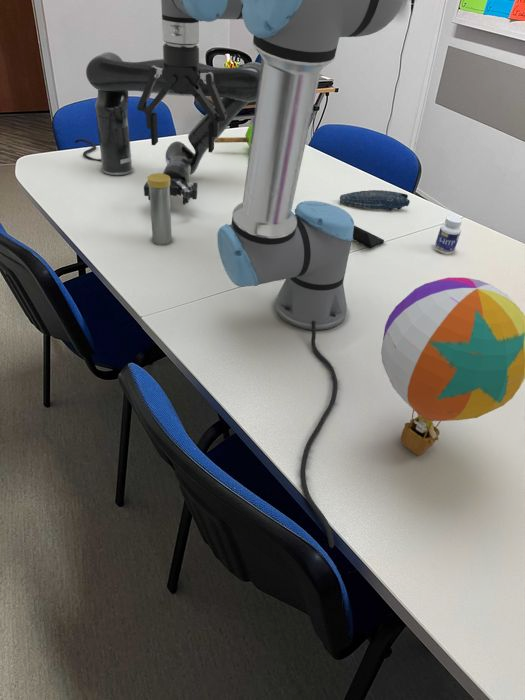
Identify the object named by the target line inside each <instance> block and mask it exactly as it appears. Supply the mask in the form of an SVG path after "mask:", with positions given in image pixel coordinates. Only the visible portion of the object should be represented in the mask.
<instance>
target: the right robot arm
mask: <svg viewBox="0 0 525 700" xmlns="http://www.w3.org/2000/svg"><path fill="white" fill-rule="evenodd" d="M404 1H405V0H160V2H161V3H160V5H161V27H162V28H161V29H162V41H163V42H165V43H164V44H163V45H162V54H163V55H162V56H163V57H162V59H164V67H163V69H162V68H158V67H157V66H156V65H154V66H152V67H151V68H150V69H149V79H148V81H147V84H146V86H145V89H144V91H143V92H142V93H141V96H140V99H139V101H138V104H137V106H136V109H137V111H139V112H143V113H144V114H145V122H146V123H145V124H146V128H147V130H150V141H151V146H156V145H157V144H158V142H159V135H158V134H159V132H158V113H157V112H154V111H155V110H156V108H157V107H159V105H160V103H161V102H162V101H163V100H164V99H165V97H166V96H167V95H166V94H167V93H168V92H169V91H170V90H172V91H174V92H177V93H178V92H182V93H185V94H188V93H190V92H191V93H192V95H193V96H192V97H194V98H195V99H196V100H197V102H198V104H199V105H200V106H201V108H202V109H203V110H204V112H205V114H207V115H208V116H209V117H210V119H211V121H210V122H209V146H208V149H207V152H208V153H213V151H214V149H215V142H214V137H217V136H218V134H219V122H220V121H224V120H225V119H226V118H227V113H226V111H225V108H224V106H223V103H222V101H221V99H222V97H220V96H219V93H218V91H217V89H216V86H215V84H214V74H213V72H209V73H200V71H199V63H200V48H199V46H198V45H197V44H199V43H200V22H207V23H211V22H214V21H216V20H243V22H244V23H243V24H244V26H245V28H246V29H247V31H248V32H249V33H250V34H251V35H253V36H252V37H253V38H252V45H253V47H254V49H255V51H256V52H257V54H259V56H260V58H261V61H260V64H261V68H260V75H259V83H258V91H257V98H256V101H255V107H254V113H253V114H254V115H253V121H252V124H253V129H252V136H251V144H250V147H249V152H248V158H247V167H246V175H245V181H244V182H245V183H244V191H243V198H242V201H241V202H240V203H239V204H237V205H236V206H235V207H234V208H233V210H232V216H231V217H232V218H231V223H230V224H226V223H225V224H224V225H222V226H220V227H219V229H218V231H217V238H216V239H217V248H218V253H219V257H220V260H221V264H222V267H223V269H224V271H225V274H226V275H227V277H228V279H229V280H230V281H231V283H233V284H234V285H235V286H237V287H240V288H246V287H254V286H255V287H257V286H259V285H263V284H269V283H274V282H278V281H284V282H283V283H282V285H281V287H280V290H279V291H278V294H277V296H276V300H275V311H276V313H277V315H278V316H279V317H280V318H281V319H282V320H283V321H284V322H286V323H287V324H289V325H291V326H293V327H296V328H300V329H304V330H310V331H311V343H310V344H311V347H312V350H313V352H314V353H315V355H316V356H317V357H318V359H320V361H322V362H323V363H324V364H325V365H326V367H327V368H328V369H329V372H330V374H331V378H332V395H331V398H330V400H329V404H328V406H327V408H326V409H325V411H324V413H323V414H322V416H321V418H320V419H319V421H318V423H317V425H316V426H315V429H314V430H313V431H312V432H311V435H310V436H309V438H308V440H307V442H306V444H305V447H304V448H303V453H302V457H301V462H300V469H299V470H300V471H299V472H300V473H299V474H300V484H301V488H302V492H303V495H304V497H305V500H306V502H307V504H308V505H309V506H310V509H312V511H313V512H314V513H315V514H316V516H317V517H318V518H319V520H320V521H321V524H322V525H323V527H324V530H325V532H326V536H327V537H326V538H327V542H328V546H329V548H331V549H333V548H334V547H335V539H334V534H333V531H332V529H331V526H330V524H329V520H328V519H327V518H326V516H325V515H324V513H323V512H322V511H321V509H320V508H319V507H318V506H317V504H316V503H315V502H314V499H313V498H312V497H311V494H310V492H309V488H308V484H307V483H308V482H307V477H306V476H307V475H306V468H307V460H308V456H309V452H310V449H311V446H312V444H313V442H314V440H315V438H316V437H317V436H318V434H319V432H320V431H321V429H322V427H323V425H324V423H325V421H326V419H327V417H328V416H329V414H330V412H332V409H333V407H334V405H335V403H336V400H337V395H338V387H339V386H338V378H337V374H336V371H335V369H334V367H333V366H332V364H331V362H330V361H329V360H328V359H326V357H324V356H323V354H322V353H321V352H320V351H319V349H318V348H317V345H316V336H317V334H316V332H317V331H324V330H325V331H326V330H329V329H333V328H336V327H337V326H339V325H340V324H342V323H343V322H344V320H345V318H346V315H347V310H348V309H347V308H348V307H347V306H348V305H347V297H346V292H345V286H344V280H345V275H346V271H347V267H348V266H347V265H348V260H349V257H350V251H351V246H352V242H353V241H354V240H353V229H354V225H355V221H354V219H353V217H352V216H351V214H350V213H349V212H347V211H346V210H345V209H343V208H341V207H339V206H337V205H334V204H331V203H327V202H324V201H317V200H304V201H301V202H299V203H298V204H297V205H296V206H295V208H294V212H293V211H292V209H293V204H294V200H295V195H296V191H297V187H298V186H297V185H298V180H299V176H300V172H301V166H302V161H303V157H304V152H305V148H306V143H307V138H308V133H309V129H310V123H311V120H312V115H313V111H314V105H315V101H316V100H315V99H316V95H317V90H318V86H319V81H320V76H321V71H322V70H323V68H325V67H326V66H329V64H330V63H332V62H333V61H334V60H335V59H336V54H337V50H338V49H337V48H338V45H339V41H340V38H358V37H365V36H370V35H372V34H375V33H378V32H380V31H381V30H383V29H384V28H386V27H387V26H388V25H389V24H390V23H391V22H392V21H393V20H394V19H395V17H396V16H397V15H398V14H399V12H400V10H401V8H402V6H403V4H404ZM160 75H162V76H163V77H164V79H165V81H166V82H167V83H166V84H165V86H164V87H163V88H162V90H161V91H160V92H159V94H157V95H156V96H155V97H154V99H153V100H152V101H151V102H150V103H149V99H150V97H151V95H152V93H151V92H152V90H153V88H154V85H155V83H156V80H157V78H159V77H160ZM200 79H202V80H203V82H204V84H207V89H208V91H209V94H210V96H209V97H210V98H211V102H212V103H213V105H212V103H210V101H209V99H208V97H205V95H204V94H203V92H202V90H201V88H200V87H199V85H198V82H199V81H200ZM148 103H149V105H147V104H148ZM214 106H215V108H216V110H217V112H216V111H215V110H214V108H213V107H214ZM217 113H218V114H217Z"/></svg>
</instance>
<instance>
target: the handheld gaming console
mask: <svg viewBox="0 0 525 700" xmlns="http://www.w3.org/2000/svg"><path fill="white" fill-rule="evenodd" d="M352 241H355V242H356V243H358V244H360V245H361V246H364V247H366V248H368V249H369V250H371V249H373V248H375V247H378V246H381V245H383V244H385V243H384V242H385V239H383V238H381V237H379V236H377V235H375V234H373V233H372V232H369V231H367V230H365V229H362V228H361V227H358V226H357V225H355V224H354V229H353V240H352Z"/></svg>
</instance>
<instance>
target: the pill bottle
mask: <svg viewBox="0 0 525 700" xmlns="http://www.w3.org/2000/svg"><path fill="white" fill-rule="evenodd" d="M462 222H463V219H461V218H460V217H458V216H455V215H448V216H446V218H445V220H444V223H443V224H442V225H440V228H439V231H438V234H437V237H436V240H435V243H434V250H435V251H437V252H439V253H441V254H447V255H449V254H453V253H454V252H455V250H456V247H457V244H458V242H459V239H460V236H461V233H462V229H461V225H462Z"/></svg>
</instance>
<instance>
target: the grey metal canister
mask: <svg viewBox="0 0 525 700" xmlns="http://www.w3.org/2000/svg"><path fill="white" fill-rule="evenodd" d="M149 191H150V200H149V205H150V220H151V236H152V242H153V243H154V244H156V245H159V246H165V245H169V244H171V243H172V240H173V239H172V217H171V216H172V215H171V213H172V212H171V211H172V210H171V195H170V186H169V187H166V188H153V187H150V186H149Z"/></svg>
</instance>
